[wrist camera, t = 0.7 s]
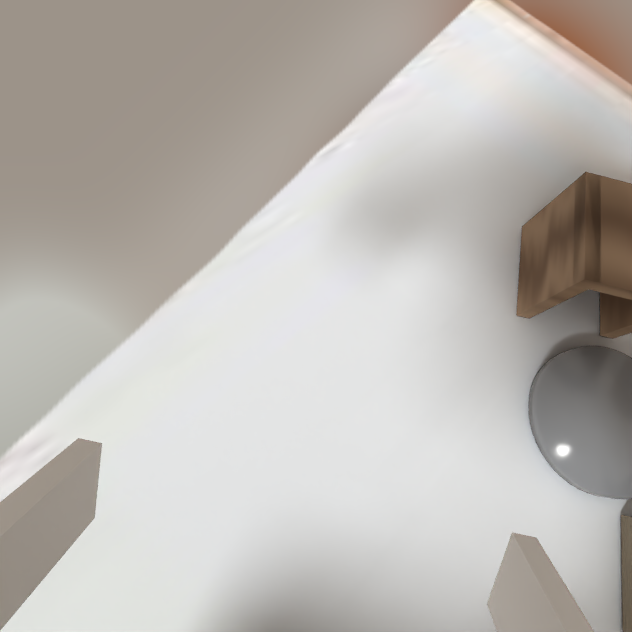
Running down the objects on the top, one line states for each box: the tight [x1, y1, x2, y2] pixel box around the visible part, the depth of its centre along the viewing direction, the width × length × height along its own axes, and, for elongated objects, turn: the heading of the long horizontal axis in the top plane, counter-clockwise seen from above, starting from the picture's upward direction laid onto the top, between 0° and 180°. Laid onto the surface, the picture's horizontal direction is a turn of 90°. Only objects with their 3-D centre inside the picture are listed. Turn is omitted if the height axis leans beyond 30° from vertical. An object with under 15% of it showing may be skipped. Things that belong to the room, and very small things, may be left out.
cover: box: [516, 172, 632, 339], centre depth 36 cm, size 9×9×8 cm
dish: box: [529, 346, 632, 499], centre depth 35 cm, size 12×12×1 cm
